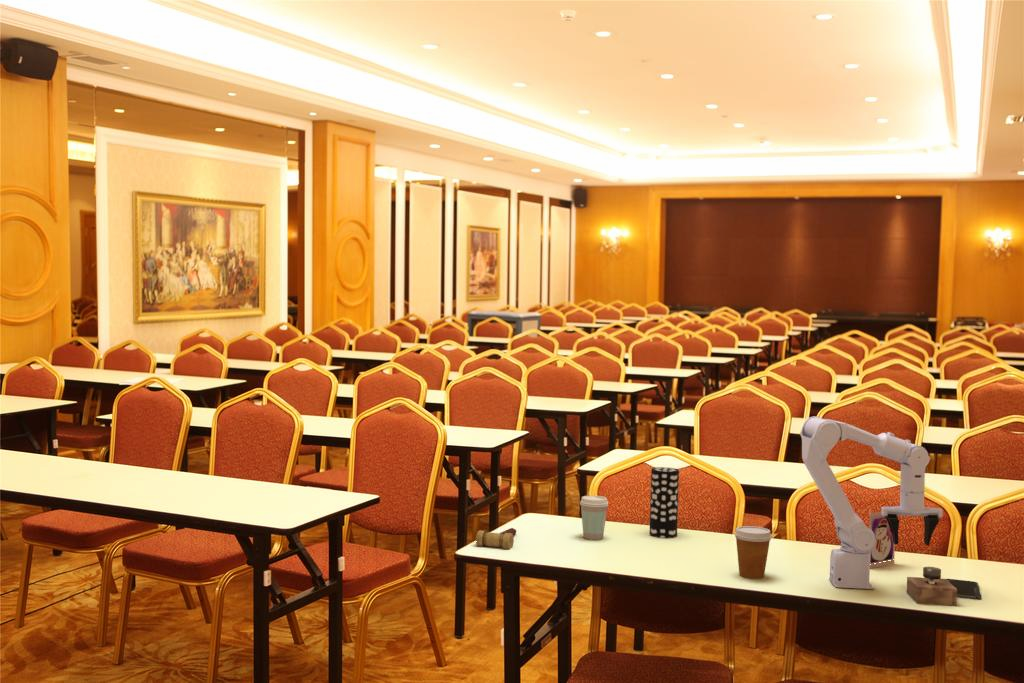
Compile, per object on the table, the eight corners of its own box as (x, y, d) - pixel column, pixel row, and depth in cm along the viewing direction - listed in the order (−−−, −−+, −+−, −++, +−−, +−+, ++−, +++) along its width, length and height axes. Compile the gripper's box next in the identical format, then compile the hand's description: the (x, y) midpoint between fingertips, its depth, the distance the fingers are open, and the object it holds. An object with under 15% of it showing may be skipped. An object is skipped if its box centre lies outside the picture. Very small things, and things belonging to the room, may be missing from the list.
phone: (946, 593, 248) (945, 578, 262) (946, 597, 249) (944, 582, 262) (981, 597, 246) (978, 581, 259) (981, 601, 246) (978, 586, 259)
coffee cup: (608, 541, 297) (609, 501, 296) (579, 540, 297) (580, 500, 297) (606, 534, 305) (607, 495, 305) (578, 534, 306) (579, 494, 305)
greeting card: (870, 569, 272) (872, 514, 272) (847, 563, 278) (849, 509, 278) (896, 564, 278) (898, 510, 278) (873, 558, 285) (875, 505, 284)
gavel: (500, 521, 307) (531, 524, 304) (499, 536, 307) (530, 540, 304) (475, 531, 287) (509, 534, 284) (475, 547, 287) (508, 551, 284)
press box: (917, 603, 241) (917, 586, 241) (906, 592, 250) (907, 576, 250) (956, 605, 240) (957, 588, 240) (944, 594, 249) (944, 578, 249)
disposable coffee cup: (744, 581, 257) (746, 534, 257) (726, 571, 266) (727, 526, 266) (777, 579, 260) (779, 533, 259) (758, 569, 269) (760, 525, 269)
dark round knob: (924, 600, 244) (926, 570, 243) (920, 595, 248) (921, 566, 247) (942, 601, 243) (943, 571, 243) (936, 596, 247) (938, 567, 247)
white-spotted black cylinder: (676, 539, 302) (678, 472, 301) (648, 537, 304) (650, 471, 303) (677, 533, 310) (679, 468, 310) (650, 531, 312) (652, 466, 311)
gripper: (886, 493, 254) (885, 546, 254) (946, 494, 252) (945, 548, 253) (879, 488, 261) (878, 540, 261) (938, 489, 259) (937, 542, 260)
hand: (911, 544), depth 258 cm, fingers open, 7 cm apart
